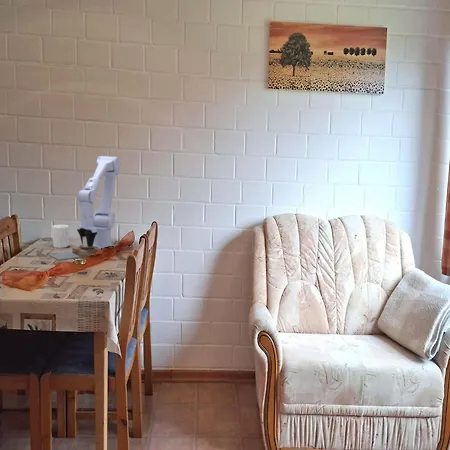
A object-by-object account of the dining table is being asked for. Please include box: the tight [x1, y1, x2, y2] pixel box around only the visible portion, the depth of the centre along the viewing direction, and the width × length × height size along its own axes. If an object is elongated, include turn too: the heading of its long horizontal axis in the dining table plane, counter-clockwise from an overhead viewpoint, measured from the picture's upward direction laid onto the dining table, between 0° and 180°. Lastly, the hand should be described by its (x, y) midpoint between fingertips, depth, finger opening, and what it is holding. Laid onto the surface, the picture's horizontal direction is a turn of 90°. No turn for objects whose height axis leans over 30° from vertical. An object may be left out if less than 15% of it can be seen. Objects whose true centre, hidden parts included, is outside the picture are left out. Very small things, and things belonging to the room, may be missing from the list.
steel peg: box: [82, 236, 92, 250], centre depth 246 cm, size 4×4×8 cm
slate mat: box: [49, 251, 81, 261], centre depth 240 cm, size 10×10×1 cm
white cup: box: [51, 224, 70, 249], centre depth 258 cm, size 8×8×10 cm
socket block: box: [71, 245, 101, 258], centre depth 247 cm, size 10×10×2 cm
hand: (87, 245), depth 246 cm, fingers open, 5 cm apart
